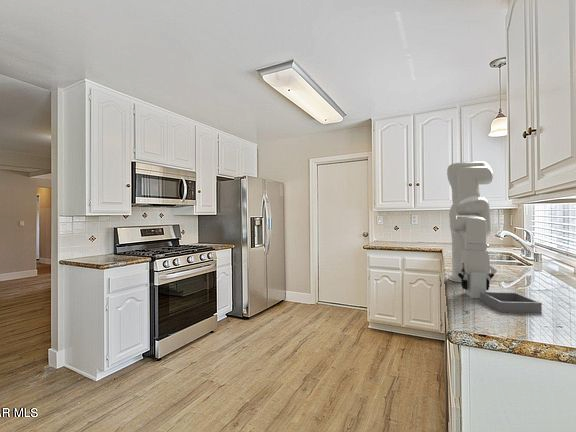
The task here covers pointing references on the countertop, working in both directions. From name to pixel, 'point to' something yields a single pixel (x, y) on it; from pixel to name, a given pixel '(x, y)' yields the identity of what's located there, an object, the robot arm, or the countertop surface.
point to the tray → (510, 302)
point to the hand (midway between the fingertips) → (475, 288)
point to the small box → (476, 284)
